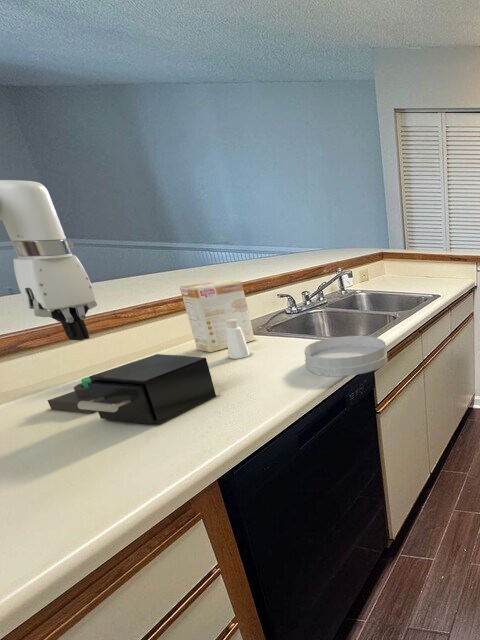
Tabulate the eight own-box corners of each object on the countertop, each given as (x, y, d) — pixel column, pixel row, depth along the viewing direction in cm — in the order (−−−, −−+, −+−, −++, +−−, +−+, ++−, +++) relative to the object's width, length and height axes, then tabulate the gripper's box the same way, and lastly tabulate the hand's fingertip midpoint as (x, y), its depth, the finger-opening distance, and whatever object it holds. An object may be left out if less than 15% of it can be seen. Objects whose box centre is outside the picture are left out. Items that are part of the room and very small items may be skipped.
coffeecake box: (241, 337, 143) (227, 279, 136) (256, 340, 140) (243, 281, 133) (195, 349, 130) (178, 285, 123) (211, 352, 128) (194, 287, 120)
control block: (51, 409, 90) (43, 392, 89) (108, 388, 101) (103, 373, 100) (91, 413, 89) (84, 396, 88) (144, 391, 100) (139, 376, 99)
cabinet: (159, 425, 85) (144, 381, 81) (105, 419, 87) (88, 376, 83) (216, 396, 98) (206, 357, 95) (169, 392, 100) (157, 353, 96)
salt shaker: (236, 352, 128) (228, 317, 124) (254, 353, 128) (246, 317, 124) (224, 358, 123) (215, 321, 119) (243, 359, 123) (234, 322, 119)
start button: (79, 387, 92) (76, 380, 92) (96, 381, 96) (93, 374, 95) (93, 389, 92) (90, 381, 91) (110, 383, 95) (107, 375, 95)
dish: (371, 378, 111) (369, 360, 109) (290, 374, 112) (286, 356, 110) (397, 352, 132) (396, 337, 130) (329, 349, 133) (326, 334, 131)
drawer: (128, 433, 80) (114, 396, 77) (77, 428, 81) (61, 391, 78) (205, 396, 96) (196, 364, 93) (161, 392, 98) (151, 361, 95)
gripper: (69, 246, 90) (101, 329, 97) (-22, 252, 77) (22, 348, 84) (99, 247, 89) (129, 330, 96) (12, 253, 76) (54, 351, 83)
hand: (79, 339), depth 90 cm, fingers closed
